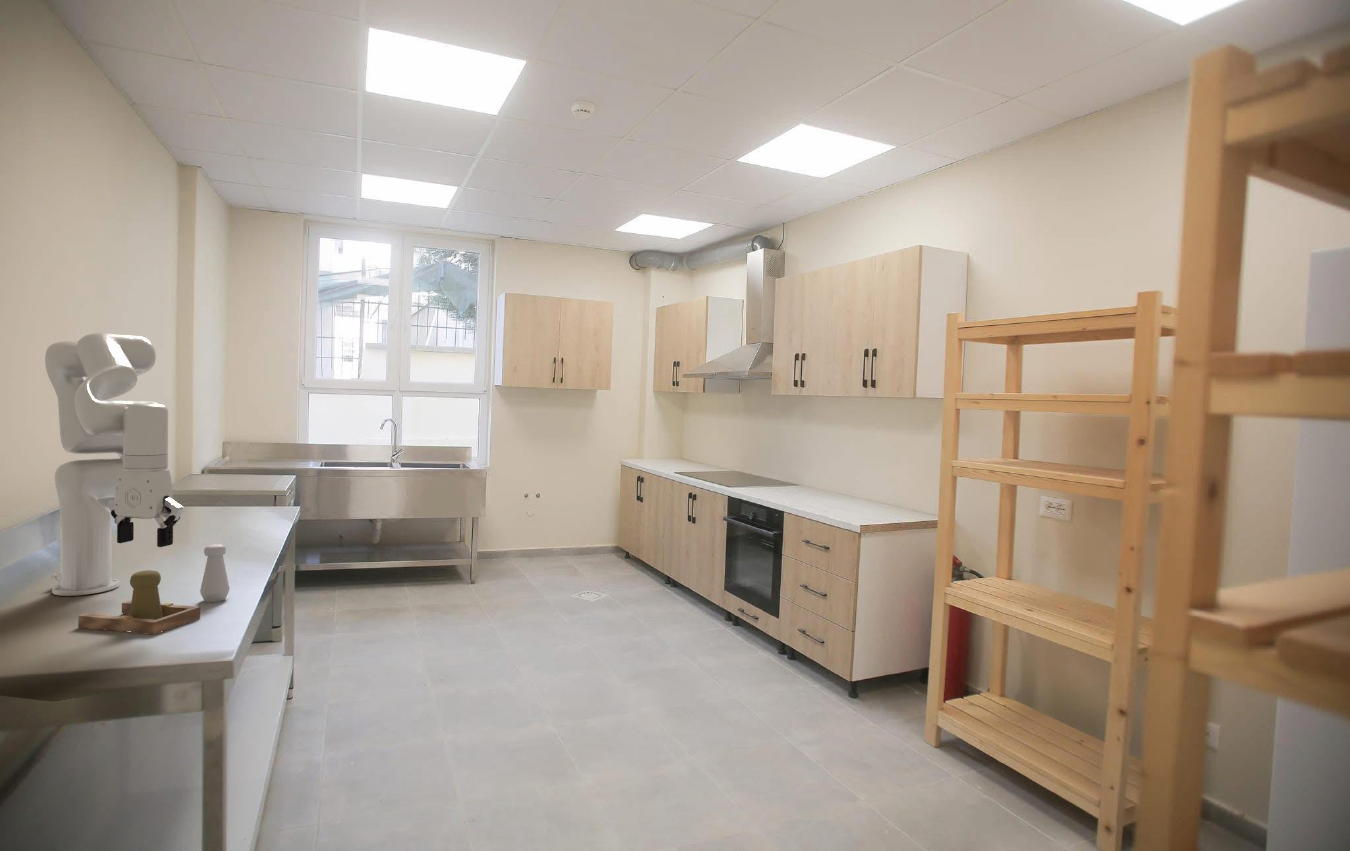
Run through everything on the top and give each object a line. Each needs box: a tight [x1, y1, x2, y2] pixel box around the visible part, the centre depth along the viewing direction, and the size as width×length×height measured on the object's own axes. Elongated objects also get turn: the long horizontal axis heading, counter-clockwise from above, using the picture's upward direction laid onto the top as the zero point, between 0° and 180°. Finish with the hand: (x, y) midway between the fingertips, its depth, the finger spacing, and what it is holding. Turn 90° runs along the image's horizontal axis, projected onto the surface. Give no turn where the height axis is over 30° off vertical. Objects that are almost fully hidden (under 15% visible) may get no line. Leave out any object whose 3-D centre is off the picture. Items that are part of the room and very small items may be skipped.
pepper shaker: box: [128, 569, 163, 620], centre depth 149 cm, size 6×6×11 cm
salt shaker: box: [199, 543, 231, 603], centre depth 167 cm, size 6×6×13 cm
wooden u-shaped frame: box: [77, 600, 201, 635], centre depth 150 cm, size 18×11×3 cm, turn 80°
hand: (145, 543), depth 149 cm, fingers open, 9 cm apart
